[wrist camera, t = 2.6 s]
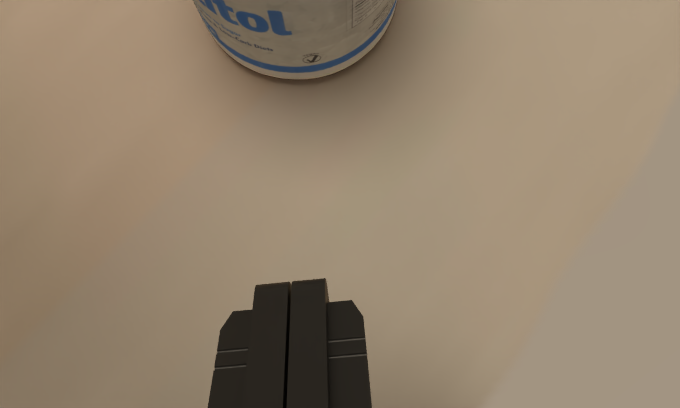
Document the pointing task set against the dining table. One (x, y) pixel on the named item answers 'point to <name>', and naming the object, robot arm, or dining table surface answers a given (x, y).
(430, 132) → the dining table surface
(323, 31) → the supplement tub
